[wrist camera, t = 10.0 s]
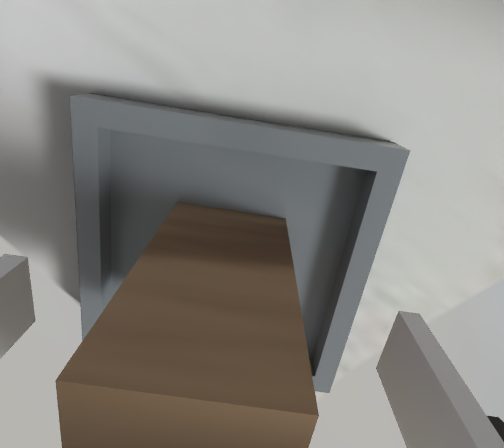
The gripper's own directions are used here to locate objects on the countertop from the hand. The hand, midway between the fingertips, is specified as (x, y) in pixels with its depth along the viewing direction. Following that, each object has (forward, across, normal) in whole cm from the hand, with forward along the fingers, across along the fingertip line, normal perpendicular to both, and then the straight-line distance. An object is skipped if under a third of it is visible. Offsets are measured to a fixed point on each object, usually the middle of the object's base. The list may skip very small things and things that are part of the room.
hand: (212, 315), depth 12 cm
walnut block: (+5, 0, 0) cm, 5 cm away
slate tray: (+5, 0, 0) cm, 5 cm away
